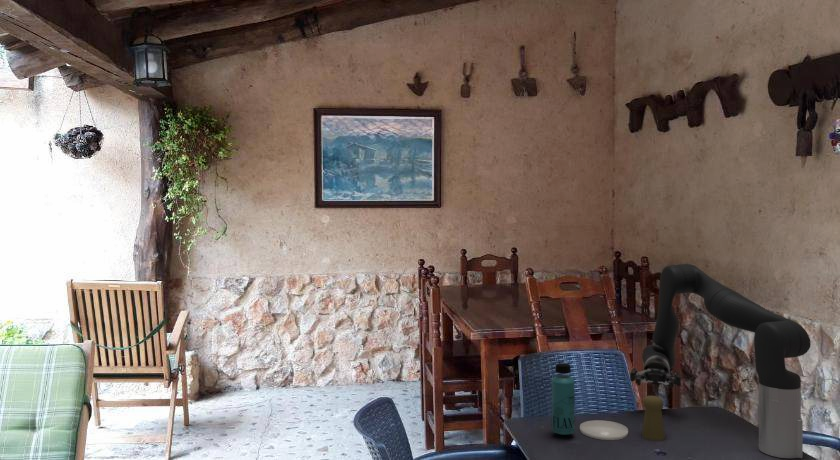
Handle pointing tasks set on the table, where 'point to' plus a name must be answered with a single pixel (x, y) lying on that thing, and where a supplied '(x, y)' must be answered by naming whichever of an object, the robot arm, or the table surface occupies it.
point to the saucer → (604, 430)
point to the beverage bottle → (563, 401)
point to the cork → (653, 419)
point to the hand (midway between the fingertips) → (654, 383)
